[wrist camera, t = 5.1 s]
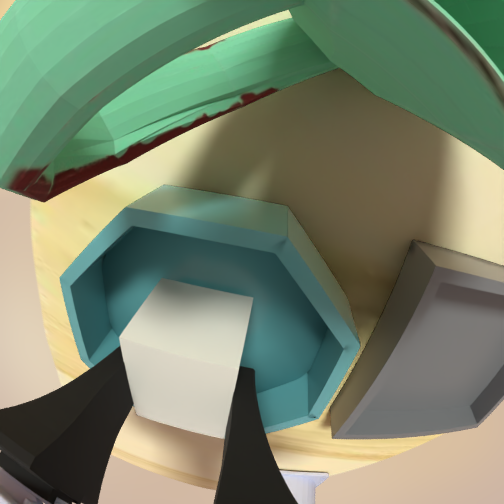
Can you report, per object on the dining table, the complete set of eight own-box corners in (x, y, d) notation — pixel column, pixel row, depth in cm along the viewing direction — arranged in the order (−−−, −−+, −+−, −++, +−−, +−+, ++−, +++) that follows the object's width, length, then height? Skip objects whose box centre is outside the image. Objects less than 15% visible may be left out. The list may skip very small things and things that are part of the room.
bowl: (298, 406, 17) (297, 448, 14) (116, 363, 17) (95, 397, 14) (373, 224, 11) (399, 260, 8) (95, 176, 12) (48, 195, 9)
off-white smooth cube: (237, 374, 14) (224, 439, 10) (164, 356, 14) (136, 414, 11) (253, 297, 12) (238, 369, 8) (161, 277, 12) (119, 337, 8)
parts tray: (468, 405, 16) (477, 427, 14) (329, 407, 17) (331, 438, 14) (550, 281, 11) (569, 300, 9) (412, 239, 11) (436, 265, 9)
